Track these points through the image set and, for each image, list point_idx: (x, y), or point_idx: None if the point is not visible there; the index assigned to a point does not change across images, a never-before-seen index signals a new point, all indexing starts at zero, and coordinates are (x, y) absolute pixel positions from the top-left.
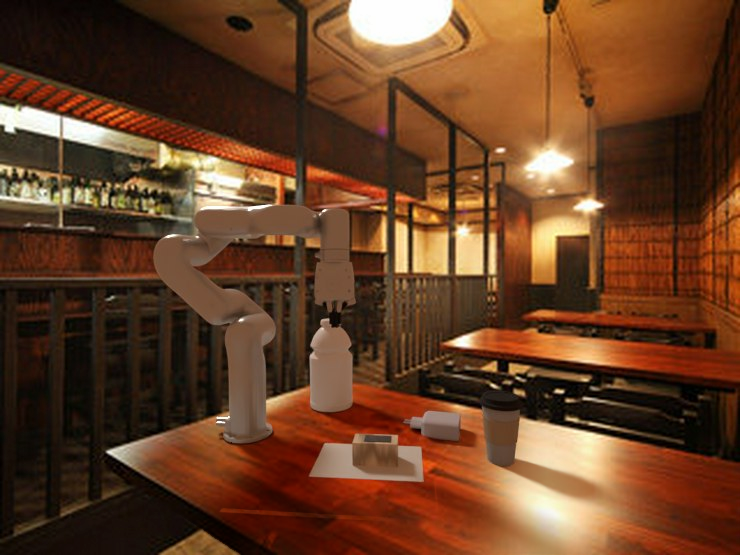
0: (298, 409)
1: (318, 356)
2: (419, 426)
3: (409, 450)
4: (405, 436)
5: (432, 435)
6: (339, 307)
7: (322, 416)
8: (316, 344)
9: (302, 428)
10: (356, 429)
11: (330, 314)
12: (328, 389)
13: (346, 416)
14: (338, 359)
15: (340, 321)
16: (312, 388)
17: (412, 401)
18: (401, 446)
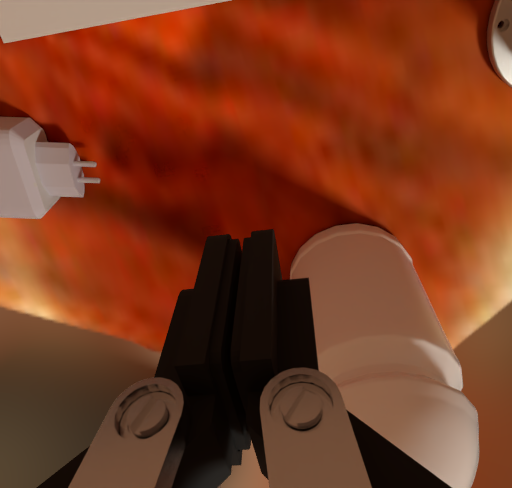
0: (437, 229)
1: (419, 354)
2: (41, 143)
3: (21, 5)
4: (83, 117)
5: (3, 118)
6: (121, 457)
7: (353, 197)
8: (446, 400)
9: (391, 101)
10: (229, 131)
11: (297, 359)
12: (352, 263)
13: (285, 210)
14: (331, 348)
15: (177, 302)
16: (411, 272)
17: (152, 324)
18: (54, 29)
